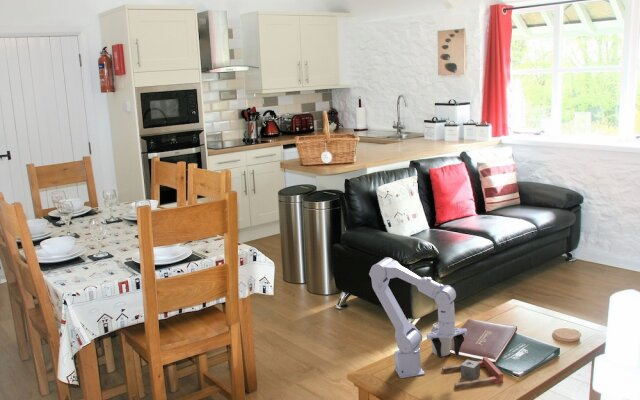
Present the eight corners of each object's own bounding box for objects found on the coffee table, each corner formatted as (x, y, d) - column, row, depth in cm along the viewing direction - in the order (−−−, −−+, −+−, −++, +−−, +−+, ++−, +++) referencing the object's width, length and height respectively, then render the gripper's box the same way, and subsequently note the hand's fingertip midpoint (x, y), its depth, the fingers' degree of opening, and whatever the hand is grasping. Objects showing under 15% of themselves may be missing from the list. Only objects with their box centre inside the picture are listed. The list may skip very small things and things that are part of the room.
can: (451, 357, 239) (450, 328, 236) (432, 357, 240) (430, 328, 238) (451, 348, 246) (450, 320, 244) (432, 348, 248) (431, 320, 245)
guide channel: (456, 389, 215) (455, 381, 215) (442, 370, 229) (441, 363, 228) (503, 381, 218) (502, 373, 217) (486, 363, 231) (486, 356, 231)
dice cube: (467, 371, 227) (467, 359, 226) (480, 375, 224) (479, 362, 223) (461, 377, 223) (460, 364, 222) (474, 381, 220) (473, 368, 219)
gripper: (430, 327, 213) (432, 363, 215) (470, 321, 215) (471, 357, 217) (424, 319, 219) (425, 354, 222) (462, 314, 221) (463, 349, 224)
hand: (448, 355), depth 220 cm, fingers open, 6 cm apart
